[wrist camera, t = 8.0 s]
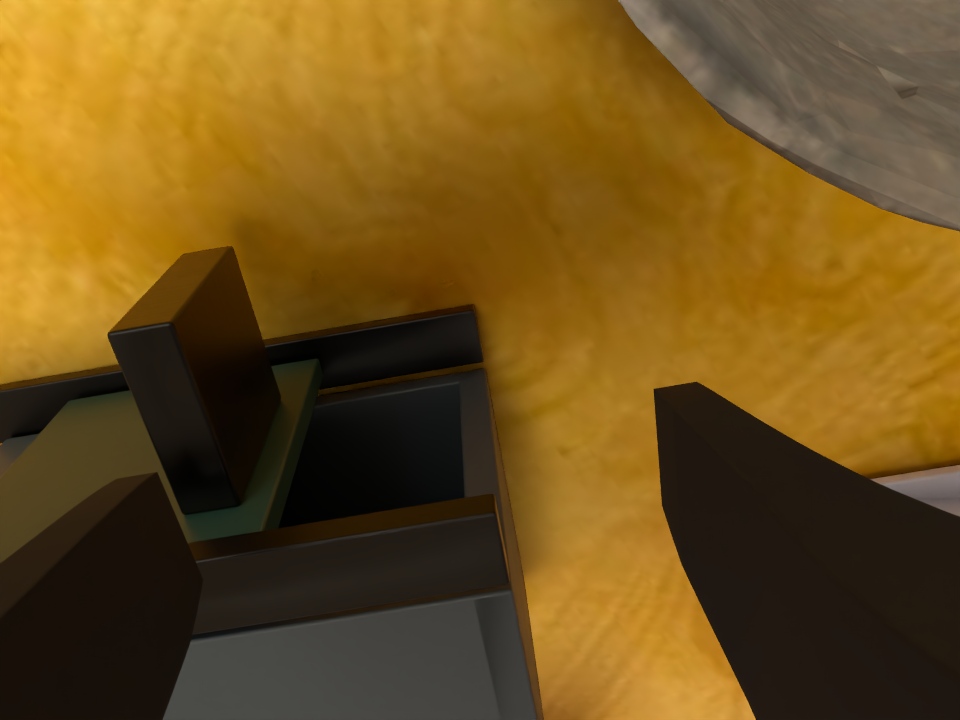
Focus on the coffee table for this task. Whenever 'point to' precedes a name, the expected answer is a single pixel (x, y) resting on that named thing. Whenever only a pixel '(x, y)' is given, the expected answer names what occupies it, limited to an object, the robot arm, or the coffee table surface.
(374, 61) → the coffee table surface
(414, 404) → the cabinet
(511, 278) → the coffee table surface
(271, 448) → the sliding door
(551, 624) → the coffee table surface
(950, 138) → the bowl
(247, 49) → the coffee table surface
